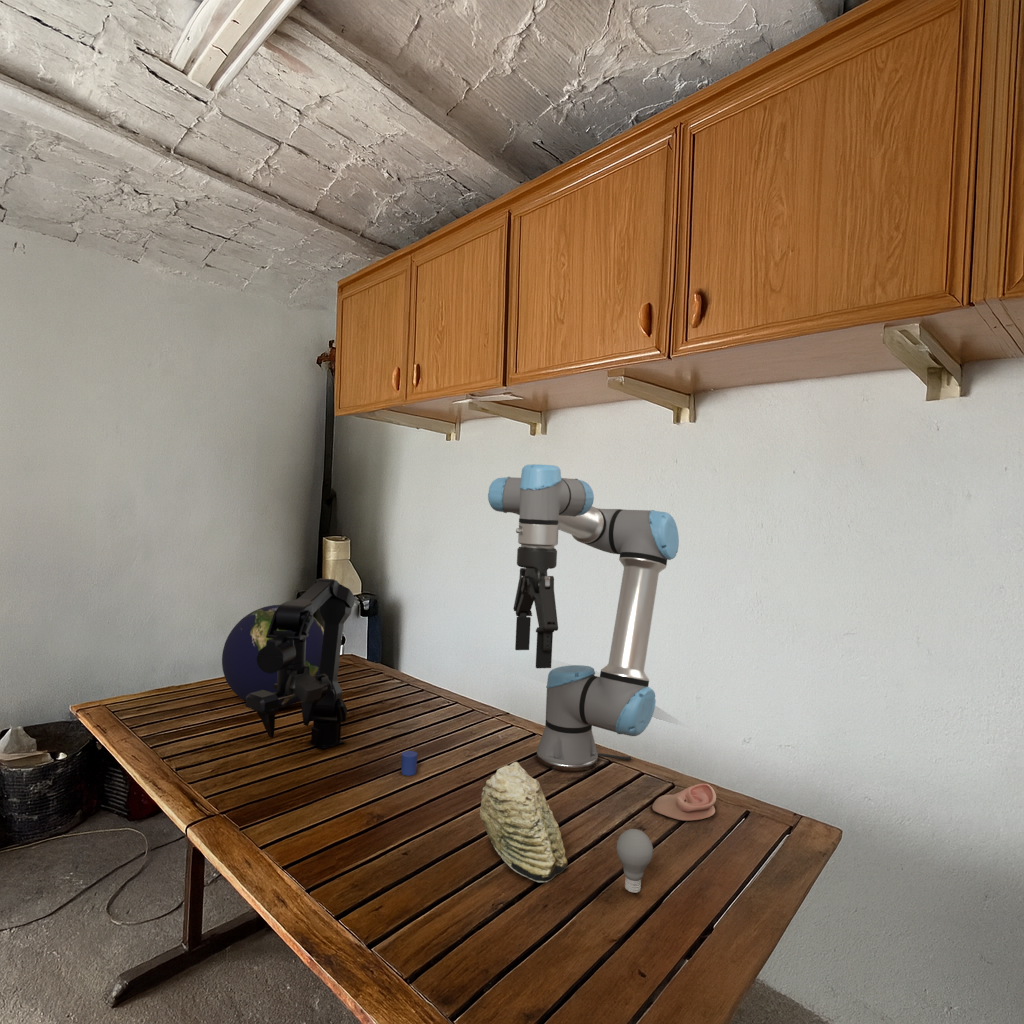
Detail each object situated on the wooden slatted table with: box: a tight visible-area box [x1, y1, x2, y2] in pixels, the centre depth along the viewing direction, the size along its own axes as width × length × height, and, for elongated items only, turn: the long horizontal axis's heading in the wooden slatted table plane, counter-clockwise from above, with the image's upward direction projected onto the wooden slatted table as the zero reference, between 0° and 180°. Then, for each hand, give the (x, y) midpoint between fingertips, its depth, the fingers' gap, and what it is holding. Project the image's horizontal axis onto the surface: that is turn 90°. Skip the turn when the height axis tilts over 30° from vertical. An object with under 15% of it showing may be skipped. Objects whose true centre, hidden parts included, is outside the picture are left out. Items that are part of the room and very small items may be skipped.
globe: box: [221, 604, 324, 709], centre depth 188 cm, size 30×30×30 cm
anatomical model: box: [651, 783, 717, 822], centre depth 135 cm, size 13×4×12 cm
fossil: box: [479, 761, 569, 883], centre depth 114 cm, size 9×18×15 cm, turn 46°
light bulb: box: [615, 828, 654, 894], centre depth 106 cm, size 6×6×10 cm
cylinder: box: [400, 750, 418, 777], centre depth 147 cm, size 4×4×4 cm
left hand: (289, 731), depth 140 cm, fingers open, 9 cm apart
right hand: (532, 658), depth 120 cm, fingers open, 13 cm apart
